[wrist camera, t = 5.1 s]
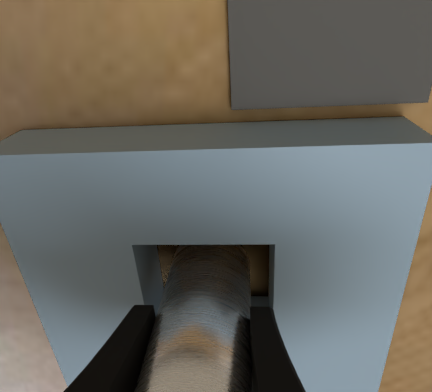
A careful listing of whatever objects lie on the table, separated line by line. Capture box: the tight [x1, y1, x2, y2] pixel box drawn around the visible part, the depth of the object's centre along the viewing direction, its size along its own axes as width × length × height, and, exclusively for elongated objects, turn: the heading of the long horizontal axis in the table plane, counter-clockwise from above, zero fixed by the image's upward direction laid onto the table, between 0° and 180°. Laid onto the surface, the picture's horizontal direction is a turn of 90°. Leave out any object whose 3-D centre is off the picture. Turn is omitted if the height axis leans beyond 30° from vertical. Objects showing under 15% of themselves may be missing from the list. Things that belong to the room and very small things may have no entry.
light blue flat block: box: [0, 116, 432, 392], centre depth 13 cm, size 13×11×2 cm
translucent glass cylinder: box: [134, 245, 252, 392], centre depth 10 cm, size 3×3×8 cm
